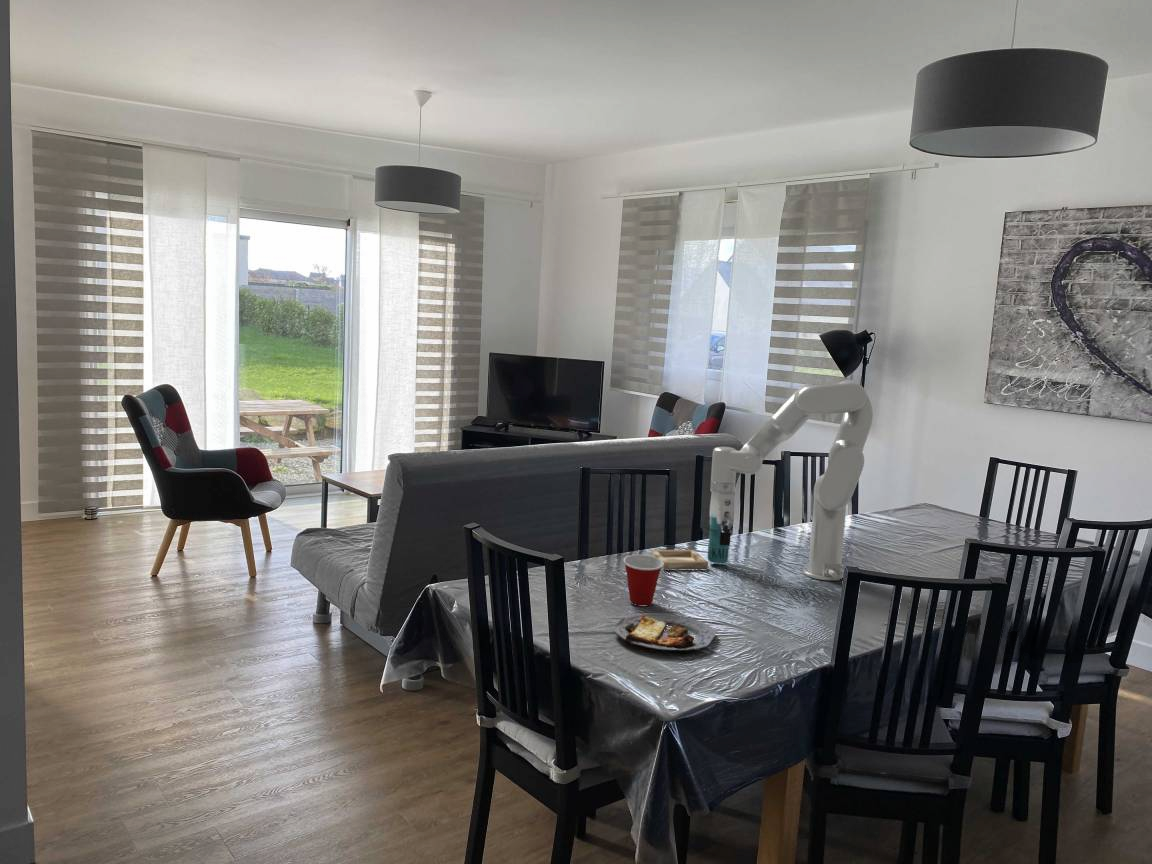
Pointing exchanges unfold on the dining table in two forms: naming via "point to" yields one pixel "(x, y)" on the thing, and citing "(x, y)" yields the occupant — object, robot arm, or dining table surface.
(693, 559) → the tray
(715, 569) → the dining table surface
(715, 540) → the beverage bottle
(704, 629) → the food plate
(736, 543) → the dining table surface
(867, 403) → the robot arm
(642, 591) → the plastic cup
